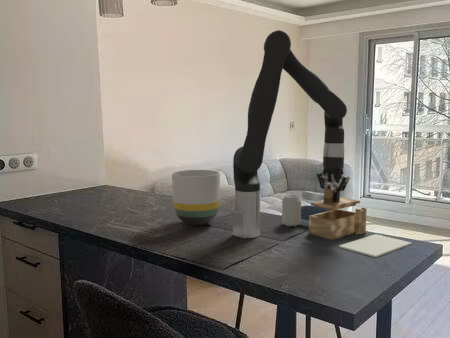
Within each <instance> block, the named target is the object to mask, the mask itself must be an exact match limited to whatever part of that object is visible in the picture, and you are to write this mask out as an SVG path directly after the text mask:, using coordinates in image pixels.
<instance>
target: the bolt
mask: <svg viewBox="0 0 450 338" xmlns="http://www.w3.org/2000/svg"><path fill="white" fill-rule="evenodd" d="M301 195H302V196H301V199H302V200H307V201H311V202H316V201H321V200H324V193H319V192H315V191H310V190H309V191H308V190H302V192H301Z"/></svg>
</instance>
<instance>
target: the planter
mask: <svg viewBox="0 0 450 338" xmlns="http://www.w3.org/2000/svg"><path fill="white" fill-rule="evenodd" d="M220 180H221V172H220V171H217V170H212V169H211V170H210V169H187V170H186V169H185V170H179V171H178V170H177V171H174V172H172V173H171V185H172V186H171V187H172V188H171V189H172V203H173V209H174V213H175V215H176V216H177V218H178V220H180V221H182V222H183V223H184V224H186V225H190V226H203V225H207V224H209V223H210V222H211V221H213V220H214V219H215V217H216V216H217V214H218V211H219V208H220V198H221V197H220V195H221V194H220V193H221V192H220V191H221V189H220V188H221V181H220Z"/></svg>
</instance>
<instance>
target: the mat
mask: <svg viewBox="0 0 450 338" xmlns="http://www.w3.org/2000/svg"><path fill="white" fill-rule="evenodd" d="M412 244H413V243H412V242H410V241H406V240H403V239H402V240H401V239H398V238H393V237H388V236H385V235H380V234H378V233H377V234H376V233H374V234H371V235H369V236H365V237H362V238H358V239H355V240H352V241H350V242H346V243H343V244H340V245H338V248H340V249H342V250H343V249H344V250H348V251H351V252H355V253H357V254H362V255H365V256H367V257H372V258H375V259H376V258H379V257H382V256H384V255H386V254H390V253H392V252H395V251H398V250H400V249H403V248H406V247H409V246H410V245H412Z"/></svg>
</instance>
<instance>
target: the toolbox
mask: <svg viewBox="0 0 450 338" xmlns="http://www.w3.org/2000/svg"><path fill="white" fill-rule="evenodd" d="M367 211H368V210H367V208H366V207H361V208H355V211H351V210H346V209H343V208H341V209H336V210H328V209H326V211H323V212H320V213H314V214H312V215H311V214H310V215H308V235H312V236H315V237H319V238H323V239H327V240H330V241H335V240H338V239H340V238H341V237H342V238H344V236H345V237H348V236H347V235H349V236H351V235H350V234H352V235H358V234H360V235H363V234H365V233H366V232H367ZM354 233H355V234H354ZM342 238H341V239H342Z"/></svg>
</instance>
